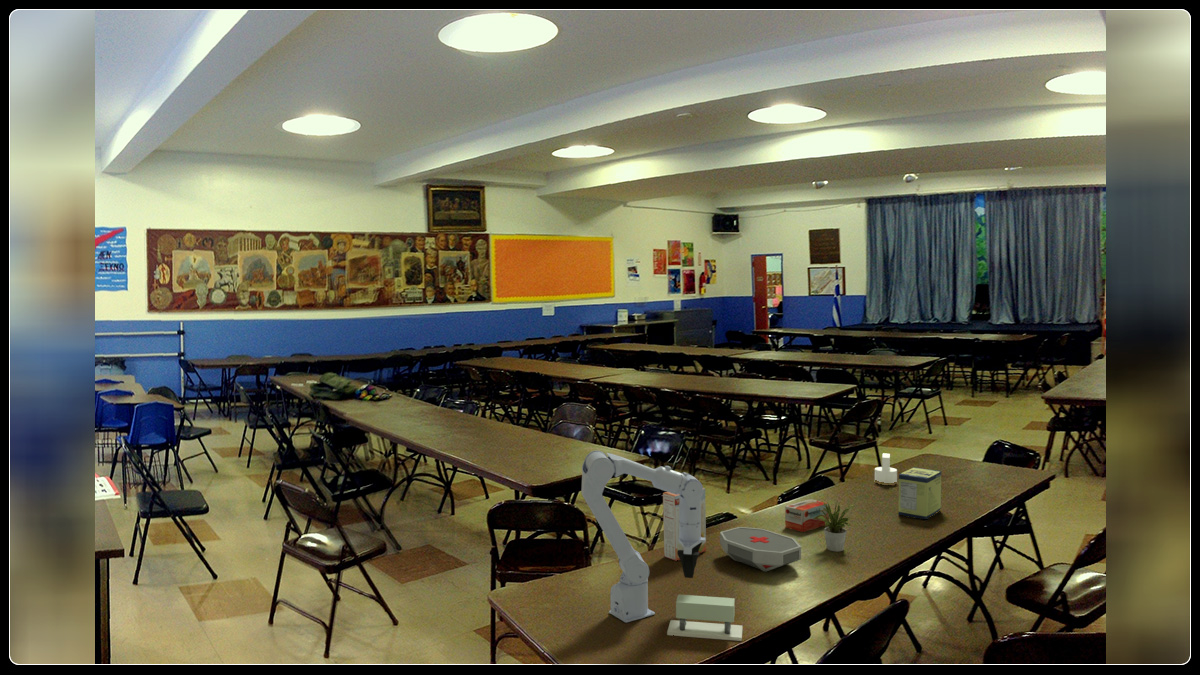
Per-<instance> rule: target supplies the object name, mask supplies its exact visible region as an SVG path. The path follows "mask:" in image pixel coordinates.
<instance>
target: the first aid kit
mask: <svg viewBox="0 0 1200 675" xmlns="http://www.w3.org/2000/svg"><path fill="white" fill-rule="evenodd" d="M719 545H720V546H721V548H722V550H723V551H724V553H726V554H727V555H728V556H729V557H730V558H731V559H732V560H733V561H734V562H740V563H741V564H745V565H748V566H750V567H753V568H755V569H758V570H761V571H763V572H765V573H766V572H768V571H769V572H770V571H771V570H775V569H777V568H781V567H784V566H788V565H789V564H792V563H795V562H798V561H800V560H801V559H802V546H801V545H800V544H799V542H798V541H797V540H796V539H795V537H794V538H793V537H791V536H787V535H784V534H781V533H777V532H774V531H771V530H767V529H764V528H757V527H756V528H755V527H746V526H737V527H734V528H730V529H726V530H722V531H720V532H719Z"/></svg>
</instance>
